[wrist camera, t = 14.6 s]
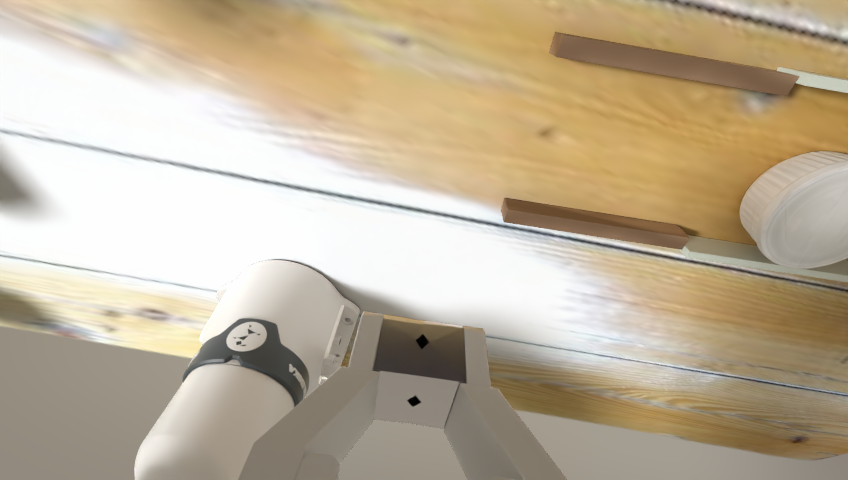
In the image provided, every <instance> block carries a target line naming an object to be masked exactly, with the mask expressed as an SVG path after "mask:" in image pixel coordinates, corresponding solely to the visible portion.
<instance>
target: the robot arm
mask: <svg viewBox="0 0 848 480" xmlns="http://www.w3.org/2000/svg"><path fill="white" fill-rule="evenodd" d="M216 296H217V299H218V301H219V304H218V306H217V307H216V309H215V311H214V312H213V314H212V316H211V318H210V319H209V321H208V323H207V324H206V326H205V328H204V329H203V331H202V333H201V335H200V341H201V343H202V347H201V349H200V350H199V351H198V352H197V354H195V356H194V357H193V358H192V360H191V362H190V363H189V366H188V368H187V370H186V372H185V373H184V376H183V384H182V385H181V387H180V388H179V390H178V391H177V392H176V394H175V395H174V397H173V398H172V400H171V401H170V403H169V405H168V406H167V407H166V409H165V410H164V412H163V413H162V415H161V416H160V417H159V419H158V421H157V422H156V423H155V425H154V426H153V428H152V429H151V431H150V432H149V434H148V435H147V437H146V438H145V439H144V441H143V442H142V444H141V446H140V448H139V450H138V454H137V457H136V462H135V469H134V473H135V480H339V466H340V463H341V461H342V460H343V459H344V458H345V457H346V455H347V454H348V453H349V452H350V450H351V449H352V448H353V446H354V445H355V444H356V443H357V441H358V440H359V439H360V438H361V436H362V435H363V434H364V433H365V431H366V430H367V429H368V427H369V426H370V425H371V424H372V422H373V420H383V421H392V422H401V423H410V424H416V425H422V426H429V427H435V428H441V429H444V432H445V434H446V436H447V438H448V440H449V443H450V445H451V447H452V449H453V451H454V453H455V455H456V457H457V459H458V461H459V463H460V465H461V467H462V469H463V471H464V473H465V475H466V477H467V479H468V480H567V479H566V478H565V476H564V475H563V474H562V472H561V471H560V470H559V468H558V467H557V466H556V464H555V463H554V462H553V460H552V459H551V458H550V457H549V455H548V454H547V453H546V451H545V450H544V449H543V447H542V446H541V445H540V443H539V442H538V441H537V439H536V438H535V437H534V435H533V434H532V433H531V432H530V430H529V429H528V428H527V426H526V425H525V424H524V422H523V421H522V420H521V419H520V417H519V416H518V414H517V413H516V412H515V411H514V409H513V408H512V407H511V405H510V404H509V403H508V401H507V400H506V399H505V397H504V396H503V395H502V393H501V392H500V391H499V390H498V388H493V387H491V381H490V372H489V364H488V356H487V347H486V339H485V332H484V330H483V329H482V328H474V327H467V326H461V325H453V324H446V323H438V322H431V321H424V320H423V321H421V320H415V319H409V318H403V317H398V316H392V315H386V314H378V313H372V312H366V311H363V313H362V315H361V318H360V322H359V326H358V330H357V333H356V337H355V341H354V345H353V348H352V352H351V356H350V360H349V364H348V367H341V365H342V362H343V359H344V356H345V353H346V351H347V348H348V345H349V342H350V339H351V336H352V334H353V331H354V328H355V325H356V322H357V320H358V317H359V314H360V309H359V308H358V307H357V306H356V305H355V304H354V303H352V302H351V301H349V300H347V299H346V298H344V297H343V296H342V295H341V294H340V293H339V292H338V291H337V289H336V288H335V287H334V286H333V285H332V283H331V282H330V281H329V280H327V279H326V278H325V277H324V276H322V275H321V274H319V273H318V272H316V271H315V270H313V269H311V268H309V267H306V266H304V265H301V264H298V263H295V262H290V261H284V260H266V261H261V262H257V263H254V264H252V265H250V266H248V267H247V268H246V269H244V270H243V271H242V272H241V274H240V275H239V276H238V277H237V279H236V280H234V281H233V282H230V283H227V284H225V285H223V286H221V287H220V288H219V290H218V292H217V294H216ZM322 377H327V379H326V380H325V381H324V382H323V383H322V384H321V385H320V382H321V379H322ZM305 397H306V398H305Z"/></svg>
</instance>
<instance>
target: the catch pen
mask: <svg viewBox="0 0 848 480" xmlns="http://www.w3.org/2000/svg"><path fill="white" fill-rule="evenodd" d="M776 71H780V72H784V73H789V74H793V75H797V76H800V77H799V79H798V80H797V81H796V83H797V84H801V85H805V86H810V87H816V88H821V89H827V90H833V91H839V92H845V93H848V79H847V78H841V77H835V76H830V75H824V74H818V73H812V72H807V71H801V70H795V69H789V68H784V67H778V69H777V70H776ZM688 236H689V237H690V239H689V240H688V242H687V243H686V245H685V246H684V248H683V249H682V250H681V249H678V250H679V251H680V252H681V253H682V254H683V255H684V256H685V257H686V258H691V259H698V260H704V261H711V262H717V263H724V264H730V265H737V266H743V267H750V268H756V269H763V270H769V271H776V272H782V273H789V274H795V275H802V276H808V277H815V278H821V279H828V280H834V281H841V282H847V283H848V260H845V259H844V260H841V261H839V262H836V263H833V264H829V265H825V266H821V267H816V268H807V269H799V268H789V267H784V266H781V265H778V264H776V263H774V262H772V261H771V260H769V259H768V258H767V257H765V256H764V255H763V254H762V252H761V251H760V250H759V248H758V246H755V245H749V244H742V243H736V242H730V241H723V240H717V239H710V238H704V237H698V236H691V235H688Z"/></svg>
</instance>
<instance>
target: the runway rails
mask: <svg viewBox="0 0 848 480" xmlns="http://www.w3.org/2000/svg"><path fill="white" fill-rule="evenodd" d="M549 53H551V54H553V55H554V56H556V57H561V58H566V59H572V60H578V61H584V62H590V63H596V64H602V65H607V66H613V67H619V68H625V69H631V70H637V71H642V72H648V73H654V74H660V75H666V76H672V77H678V78H683V79H689V80H695V81H701V82H707V83H713V84H718V85H724V86H730V87H736V88H742V89H748V90H753V91H759V92H765V93H771V94H777V95H783V96H787V95H788V93H789V92H790V90H791V89H792V87H793V86H794V84H795V83H796V81H797V80H798V79H799V77H800V76H797V75H793V74H789V73H784V72H780V71H776V70H770V69H765V68H759V67H753V66H747V65H742V64H736V63H730V62H724V61H719V60H713V59H707V58H701V57H696V56H690V55H684V54H678V53H672V52H667V51H661V50H655V49H649V48H644V47H638V46H632V45H626V44H621V43H615V42H609V41H603V40H597V39H592V38H586V37H580V36H574V35H569V34H563V33H557V32H555V35H554V38H553V42H552V45H551V48H550V51H549ZM501 212H502V216H503V220H504V222H507V223H513V224H520V225H526V226H533V227H539V228H545V229H552V230H558V231H565V232H571V233H578V234H584V235H591V236H597V237H604V238H610V239H617V240H623V241H630V242H636V243H643V244H649V245H655V246H662V247H668V248H675V249H681V250H682V249H683V248H684V246H685V245H686V243H687V242H688V240H689V239H690V237H689V236H688V235H687V234H686V233H685V232H684V231H683V230H682V229H681V228H680V227H679V226H678V225H674V224H668V223H662V222H655V221H649V220H643V219H636V218H630V217H623V216H617V215H611V214H604V213H598V212H592V211H585V210H579V209H572V208H566V207H560V206H553V205H547V204H541V203H534V202H528V201H521V200H515V199H509V198H505V199H504V202H503V205H502V209H501Z"/></svg>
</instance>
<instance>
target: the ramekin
mask: <svg viewBox="0 0 848 480" xmlns="http://www.w3.org/2000/svg"><path fill="white" fill-rule="evenodd" d="M739 215H740V220H741V223H742V225H743V227H744V228H745V230H746V231H747V232H748V233H749V235H750V236H751V237H752V238H753V239H754V241H755V242H756V243H757V246H758V248H759V250H760V251H761V252H762V254H763V255H764V256H765V257H767V258H768V259H769V260H771V261H772V262H774V263H776V264H778V265H781V266H784V267H789V268H799V269H807V268H816V267H821V266H825V265H829V264H833V263H836V262H839V261H841V260H844V259H847V258H848V154H843V153H838V152H831V151H818V152H809V153H805V154H801V155H798V156H794V157H791V158H789V159H786V160H784V161H782V162H780V163H778V164H776V165H774V166H773V167H771V168H770V169H768V170H767V171H766V172H764V173H763V174H762V175H761V176H759V177H758V178H757V179H756V180H755V181H754V182H753V184H752V185H751V186H750V187H749V188H748V190H747V191H746V193H745V195H744V197H743V200H742V203H741V207H740V213H739Z"/></svg>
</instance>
